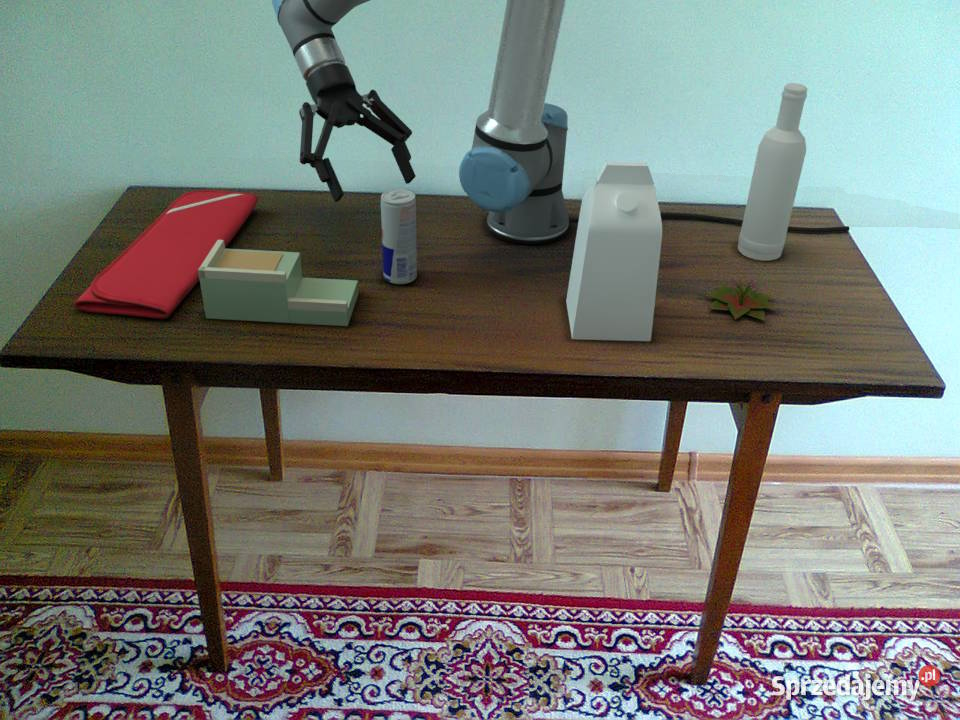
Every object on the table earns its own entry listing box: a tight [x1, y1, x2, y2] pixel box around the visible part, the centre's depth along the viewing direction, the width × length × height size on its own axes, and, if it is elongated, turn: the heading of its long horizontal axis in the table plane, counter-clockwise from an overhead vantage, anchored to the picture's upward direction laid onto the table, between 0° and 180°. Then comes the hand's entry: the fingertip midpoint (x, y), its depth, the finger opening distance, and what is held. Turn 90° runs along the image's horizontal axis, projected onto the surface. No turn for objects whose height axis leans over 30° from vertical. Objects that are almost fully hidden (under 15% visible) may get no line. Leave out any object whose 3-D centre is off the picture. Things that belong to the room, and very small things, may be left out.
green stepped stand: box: [198, 240, 360, 327], centre depth 142 cm, size 22×10×8 cm, turn 87°
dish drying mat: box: [74, 189, 259, 320], centre depth 156 cm, size 16×41×4 cm, turn 172°
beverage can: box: [380, 188, 418, 285], centre depth 149 cm, size 6×6×15 cm
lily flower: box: [705, 276, 778, 322], centre depth 148 cm, size 12×12×5 cm
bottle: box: [737, 82, 808, 262], centre depth 157 cm, size 8×8×30 cm
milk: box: [565, 160, 663, 342], centre depth 137 cm, size 12×12×26 cm
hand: (376, 189), depth 150 cm, fingers open, 13 cm apart
